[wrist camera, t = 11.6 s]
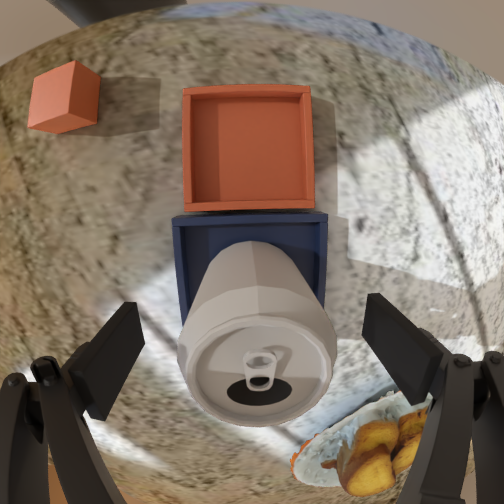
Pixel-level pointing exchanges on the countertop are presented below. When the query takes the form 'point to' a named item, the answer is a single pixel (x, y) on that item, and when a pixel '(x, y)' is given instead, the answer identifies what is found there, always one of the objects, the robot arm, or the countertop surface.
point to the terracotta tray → (247, 147)
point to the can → (256, 339)
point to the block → (64, 99)
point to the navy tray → (248, 229)
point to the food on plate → (364, 447)
